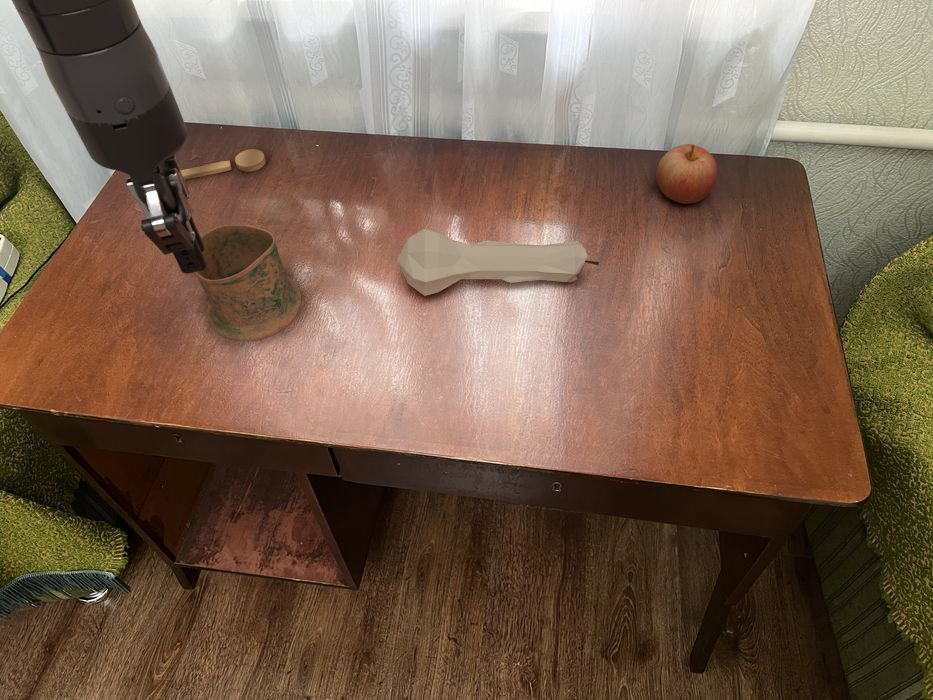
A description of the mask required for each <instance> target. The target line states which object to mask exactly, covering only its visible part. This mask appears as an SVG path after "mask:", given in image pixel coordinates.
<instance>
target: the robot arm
mask: <svg viewBox="0 0 933 700" xmlns="http://www.w3.org/2000/svg"><path fill="white" fill-rule="evenodd" d="M11 2H12V4H13V6H14V8H15V10H16V12H17V14H18V16H19V17H20V19H21V21H22V23H23V25H24V27H25V29H26V31H27V32H28V34H29V36H30V38H31V40H32V42H33V44H34V46H35V48H36V50H37V52H38V54H39V57H40V60H41V62H42V65H43V67H44V71H45V73H46V76H47V77H48V80H49V82H50V84H51V86H52V88H53V89H54V92H55V93H56V95H57V97H58V99H59V101H60V102H61V104H62V106H63V108H64V110H65V112H66V114H67V116H68V118H69V120H70V121H71V123H72V125H73V127H74V128H75V131H76V133H77V135H78V136H79V138H80V139H81V141H82V143H83V145H84V147H85V149H86V151H87V154H88V155H89V156H90V158H91V159H92V160H93V161H94V163H96V164H97V165H99V166H100V167H102V168H105V169H107V170H112V171H116V172H120V173H124V174H126V175H128V176H129V177H126V178H125V183H126V187H127V190H128V191H129V193H130V195H131V198H132V200H134V201H136V202H137V203H138V205H139V207H140V210H141V211H142V214H143V215H144V217H145V219H141V220H140V229H141V231H142V232H143V233H144V235H145V236H146V237H147V238H148V239H149V240H150V241H151V243H153V244H154V246H156V248H157V249H159V251H160V252H161V253H162V254H163V255H165V256H167V255H171V254H173V257H174V258H175V261H176V263H177V265H178V267H179V268H180V271H181V273H183V274H185V275H186V274H192V273H195V272H197V271H202V270H204V269H205V268H206V261H205V258H204V256H203V254H202V252H203V251H204V243H203V241H202V239H201V236H200V234H201V233H200V232H199V230H198V228H197V224H196V223H195V221H194V218H193V216H194V215H193V213H194V209H193V208H192V206H191V205H190V203H189V201H188V200H190V196H189V195H190V192H189V189H188V184H187V182H186V180H184V177H183V175H182V173H181V171H180V170H181V165H180V164H181V163H180V159H179V156H178V155H177V153H178V152H179V151H180V149H182V147H183V146H184V144H185V142H186V140H187V136H188V130H187V125H186V122H185V120H184V117H183V115H182V113H181V112H182V111H181V110H180V108H179V105H178V102H177V100H176V97H175V95H174V92H173V90H172V88H171V85H170V82H169V80H168V77H167V75H166V71H165V69H164V67H163V64H162V62H161V60H160V57H159V55H158V52H157V50H156V48H155V46H154V43H153V41H152V40H151V38H150V36H149V34H148V33H147V31H146V29H145V27H144V25H143V23H142V20H141V18H140V17H139V14H138V13H139V12H138V11H137V9H136V6H135V4H134V1H133V0H11Z"/></svg>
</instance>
